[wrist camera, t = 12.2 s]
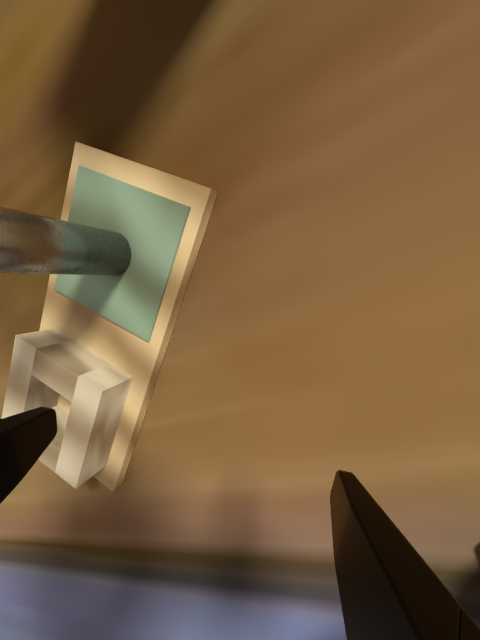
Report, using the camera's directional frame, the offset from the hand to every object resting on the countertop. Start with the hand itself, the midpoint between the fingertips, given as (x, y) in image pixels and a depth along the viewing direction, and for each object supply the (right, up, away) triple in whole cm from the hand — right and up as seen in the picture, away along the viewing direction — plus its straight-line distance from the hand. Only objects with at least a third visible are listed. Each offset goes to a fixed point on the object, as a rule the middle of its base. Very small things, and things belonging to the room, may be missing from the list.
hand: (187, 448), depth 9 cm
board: (-10, +3, +15) cm, 18 cm away
